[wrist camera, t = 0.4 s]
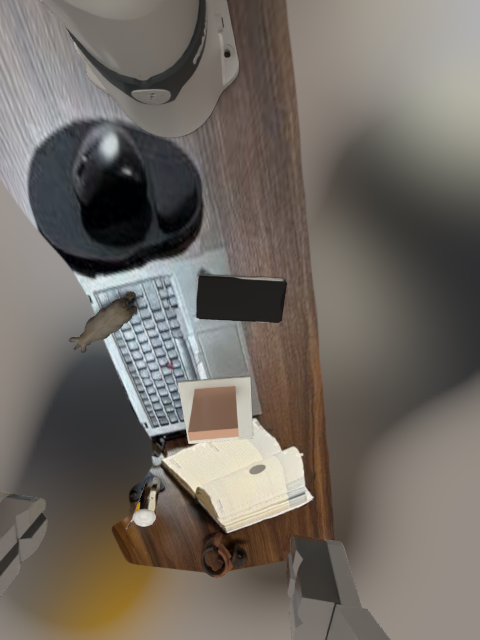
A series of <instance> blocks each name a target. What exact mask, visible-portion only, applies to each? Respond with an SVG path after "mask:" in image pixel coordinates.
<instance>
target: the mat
mask: <svg viewBox="0 0 480 640" xmlns="http://www.w3.org/2000/svg"><path fill="white" fill-rule="evenodd" d="M178 385H179V391H180V397H181V403H182V408H183V414H184V420H185V426H186V431H187V437H188V443H189V444H190V442H189V436H188V429H189V422H190V416H191V410H192V403H193V397H194V390H195V389H203V388H215V387H228V386H235V388H236V402H237V417H238V432H239V439H251V438H253V427H252V406H251V384H250V376H243V377H230V378H217V379H204V380H191V381H178ZM239 439H238V440H239ZM226 441H228V440H226ZM214 442H216V441H214ZM203 443H204V442H203ZM191 444H192V443H191Z"/></svg>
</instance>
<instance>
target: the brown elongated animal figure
mask: <svg viewBox="0 0 480 640" xmlns="http://www.w3.org/2000/svg"><path fill="white" fill-rule="evenodd" d="M134 297H135V293H134V292H127V294H126V297H124V298H121V299H117V300H115V301H113V302H112V303H111V304H110V305H109V306H108V307H105V308H103V309H101V310H100V311H99V312H98V313H97V314H96V316H94V317H92V318H90V319H89V320H88V322H87V323H86V326H85V331H84V332H83V333H82V334H81V336H80V337H78V338H75V337H72V338H70V339H69V341H70V342H75V341H77V342H78V344H77V345H76V347H75V348H74V350H76V349H77V348H78V347H80V346H82V349H81V352H82V353H84V352H85V351H86V346H87V345H89V344H90V343H91V342H93V341H96V340H103V339H105V338H107V337H108V336H109V335H110V334H111V333H113V332H116V331H117V330H119V329H120V328H121V327H122V326H123V324H124V323H127V322H128V321H129V320H130V319H131V318H132V316H133V313H136V312H137V307H136V306H131V307H129V308H128V302H129V301H130V300H132V299H133V298H134Z"/></svg>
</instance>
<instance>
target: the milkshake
mask: <svg viewBox="0 0 480 640" xmlns="http://www.w3.org/2000/svg"><path fill="white" fill-rule="evenodd" d="M160 482H161V480H160V479H159V478H158V477H156V476H150V477H149V478H147V480H146V483H145V486H144V488H143V491H142V494H141V497H140V499H139V502H138V504H137V507H136V510H135V512H134V515H133V519H132V520H131V522H132V521H133V520H134V522H135V523H136V524H137V525H139V526H143V527H144V526H149V525H151V524H152V523H153V522H154V521H155V519H156V511H157V502H158V495H159V489H160ZM131 522H130V523H129V525H130V524H131ZM129 525H128V526H127V528H128V527H129ZM127 528H126V530H127Z"/></svg>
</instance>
